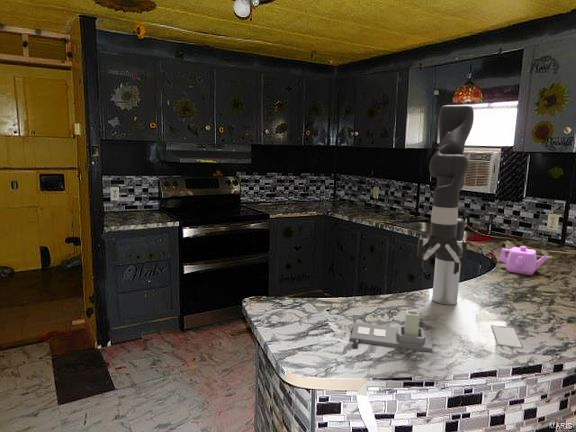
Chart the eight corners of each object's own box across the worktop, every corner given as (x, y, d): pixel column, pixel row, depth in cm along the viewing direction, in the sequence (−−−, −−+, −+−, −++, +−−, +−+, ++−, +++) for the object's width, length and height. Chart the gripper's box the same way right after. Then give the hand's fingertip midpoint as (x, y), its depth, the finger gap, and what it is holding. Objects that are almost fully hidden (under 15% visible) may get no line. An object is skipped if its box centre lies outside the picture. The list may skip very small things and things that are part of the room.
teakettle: (523, 265, 221) (526, 242, 219) (548, 275, 205) (551, 250, 203) (494, 266, 218) (496, 243, 216) (517, 276, 202) (520, 251, 200)
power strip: (354, 325, 141) (354, 317, 141) (429, 334, 135) (430, 326, 135) (349, 346, 126) (349, 337, 125) (433, 358, 120) (434, 348, 120)
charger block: (403, 333, 133) (405, 309, 132) (417, 335, 132) (419, 310, 131) (404, 339, 130) (405, 313, 128) (417, 340, 129) (419, 315, 127)
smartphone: (497, 344, 129) (490, 324, 143) (496, 346, 130) (490, 326, 144) (524, 348, 127) (514, 328, 141) (523, 350, 127) (514, 329, 141)
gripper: (467, 220, 129) (463, 270, 132) (419, 217, 133) (415, 266, 136) (471, 224, 122) (466, 278, 125) (419, 221, 125) (416, 273, 128)
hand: (439, 272), depth 130 cm, fingers open, 8 cm apart
